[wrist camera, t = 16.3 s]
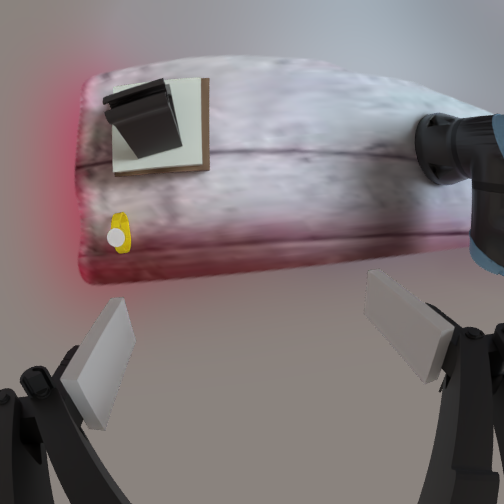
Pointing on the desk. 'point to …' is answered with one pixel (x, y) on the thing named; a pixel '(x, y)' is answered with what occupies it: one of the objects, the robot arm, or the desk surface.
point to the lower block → (205, 140)
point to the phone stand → (145, 118)
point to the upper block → (189, 124)
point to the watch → (120, 233)
